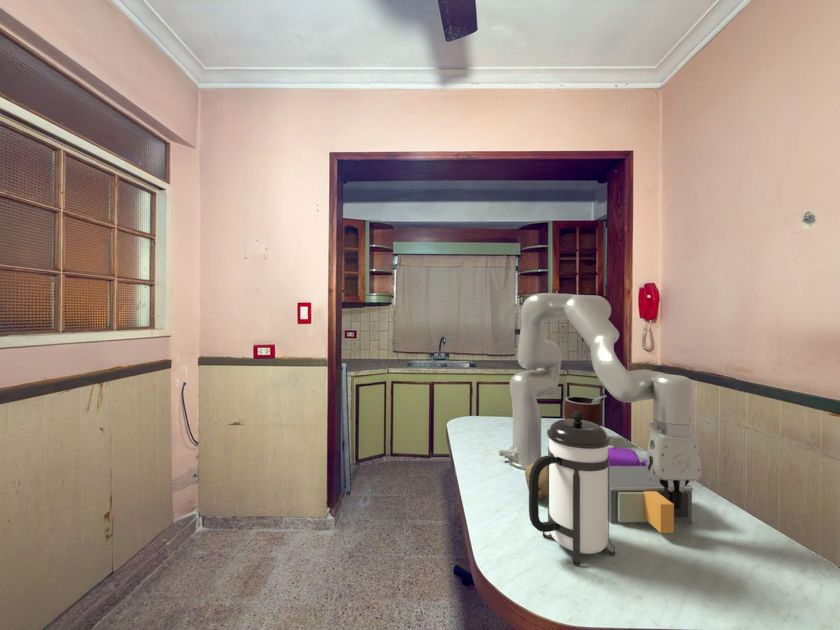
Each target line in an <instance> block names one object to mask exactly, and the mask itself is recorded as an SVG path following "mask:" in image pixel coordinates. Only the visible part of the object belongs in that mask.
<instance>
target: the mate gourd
mask: <svg viewBox="0 0 840 630" xmlns="http://www.w3.org/2000/svg"><path fill="white" fill-rule="evenodd" d="M604 398H607V394H606V395H602V396H601V395H600V396H598V397H596V398H593V397H588V396H581V395H578V396H576V395H575V396H573V395H572V396H567V397H565V402H564V407H563V415H564V419H573V417H572V414H573V413H574V412H576V411H578V412H581V413H582V415H583V419H582V420H584V421H589V422H592V423H595V424H597V425H599V426H600V427H602V426H601V425H602V422H603V420H602V419H603V409H602V403H601V400H602V399H604Z"/></svg>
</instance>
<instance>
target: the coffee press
mask: <svg viewBox="0 0 840 630" xmlns="http://www.w3.org/2000/svg"><path fill="white" fill-rule="evenodd" d="M572 417H573V419H565V418H564V419H559V420H556V421H554V422H553V423H552V424H550V427H549V428H548V430H547V432H546V435H547V438H548V446H547V455H544V456H541V458H539V459H538V460H537V461H536V462H535V463H534V465H533V466H532V469H531V472H530V477H529V489H528V516H529V520H530V522H531V525H532V526H533V527H534V528H535V529H536V530H537V531H539V532H542V537H543V538H544V539H546V540H548V539H550V538H553V539H554V541H555V542H557V544H559V545H561V547H564V548H565V549H567V550H569V551H572V564H573V565H578V566H580V565H581V554H584V555H585V554H587V555H588V554H589V555H591V554H598V553H600V552H602V551H604V550H605V552H606V553H607V554H608V555H609V556H615V555H616V547H615V546H614V544H613V543H612V541H611V539H610V522H609V455H608V446H609V445H611V438H610V437H609V435H608V434H607V431H606V430H605V429H604V428H603V427H602V426H599V425H597V424H595V423H592V422H589V421H584V420H582V419H583V415H582V413H581V412H578V411H576V412H574V413H573V414H572ZM545 466H548V496H547V521H541V520H540V515H539V500H540V499H539V475H540V472H541V471H542V469H543V468H544V467H545ZM546 533H549V534H546ZM608 544H609V546H610V547H611V549H612V551H611V550H610V549H608V547H607V545H608Z"/></svg>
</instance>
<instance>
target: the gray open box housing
mask: <svg viewBox="0 0 840 630" xmlns="http://www.w3.org/2000/svg"><path fill="white" fill-rule="evenodd" d="M649 472H650V471H648V468H647V466H609V524H650V523H649V522H619V521H618V492H644V491H657V492H658V493H659V494H661V495H662V496H663V497H664V487H663V486H662V485H661V484H660V483H657V482H653V481H652V480H650V479H649V478H648V476H649ZM693 490H694V487H693V486H691V485H690V484H689V483H688V484H687V485H686V486H685V488H684V491H683V492H681V509H677V508H676V509H674V524H693Z"/></svg>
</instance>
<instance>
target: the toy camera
mask: <svg viewBox="0 0 840 630" xmlns="http://www.w3.org/2000/svg"><path fill="white" fill-rule="evenodd" d="M608 455H609V466H647V459H645V460H643V461H640V458H639V456H638V454H637V453H636V451H635V450H633V449H630V448H622V447H615V446H614V445H611V444H609V446H608Z"/></svg>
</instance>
